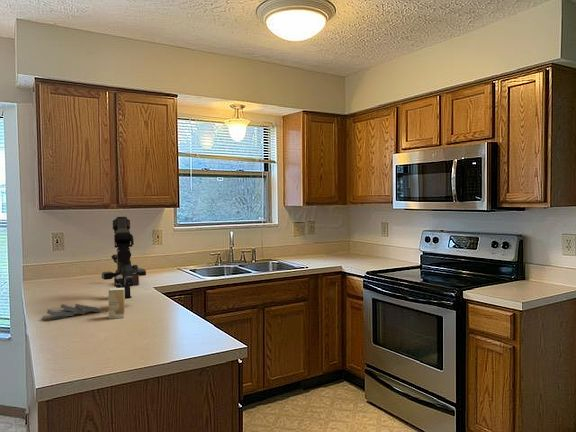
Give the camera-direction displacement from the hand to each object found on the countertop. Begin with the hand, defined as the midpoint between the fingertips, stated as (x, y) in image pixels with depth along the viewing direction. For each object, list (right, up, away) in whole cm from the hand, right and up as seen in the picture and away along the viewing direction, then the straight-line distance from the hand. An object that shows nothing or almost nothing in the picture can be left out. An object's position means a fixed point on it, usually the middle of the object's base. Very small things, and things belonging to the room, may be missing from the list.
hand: (124, 292), depth 207 cm
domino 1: (-18, -7, -14) cm, 24 cm away
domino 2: (-20, -8, -14) cm, 26 cm away
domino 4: (-10, -7, -7) cm, 14 cm away
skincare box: (+3, -8, -17) cm, 19 cm away
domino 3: (-15, -7, -11) cm, 19 cm away
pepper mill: (-20, -6, +57) cm, 60 cm away
